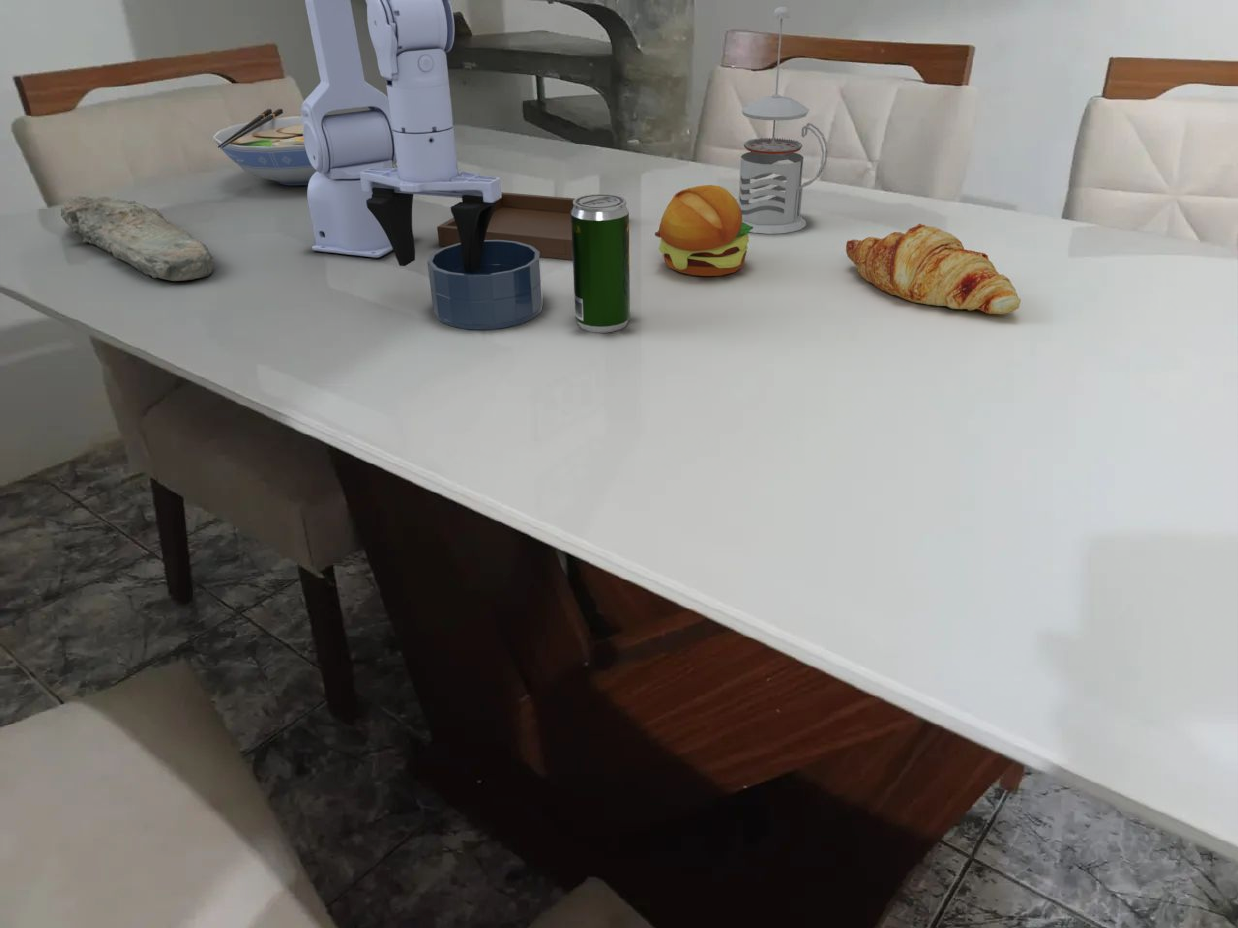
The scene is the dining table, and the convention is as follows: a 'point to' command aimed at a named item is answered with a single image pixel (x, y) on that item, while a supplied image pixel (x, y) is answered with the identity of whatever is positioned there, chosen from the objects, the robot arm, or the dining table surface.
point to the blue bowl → (486, 286)
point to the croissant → (933, 271)
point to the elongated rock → (138, 237)
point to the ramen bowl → (269, 148)
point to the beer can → (601, 262)
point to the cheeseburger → (703, 232)
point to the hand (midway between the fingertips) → (439, 266)
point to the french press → (756, 164)
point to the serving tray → (525, 224)
